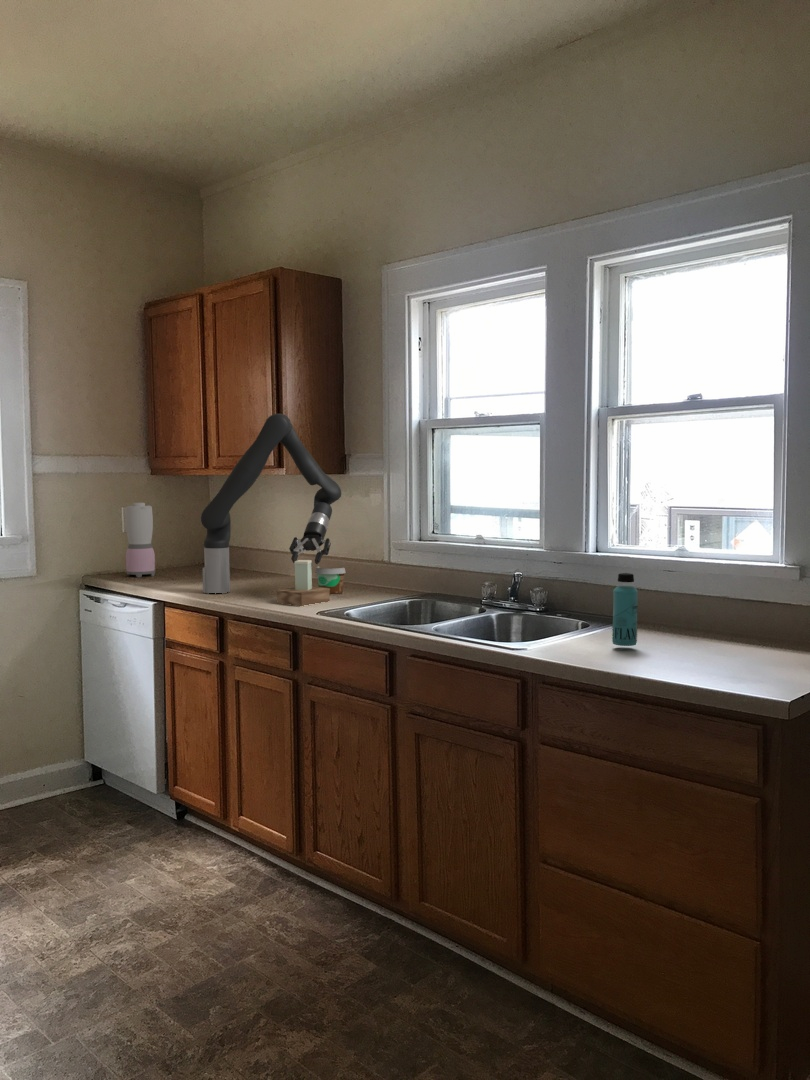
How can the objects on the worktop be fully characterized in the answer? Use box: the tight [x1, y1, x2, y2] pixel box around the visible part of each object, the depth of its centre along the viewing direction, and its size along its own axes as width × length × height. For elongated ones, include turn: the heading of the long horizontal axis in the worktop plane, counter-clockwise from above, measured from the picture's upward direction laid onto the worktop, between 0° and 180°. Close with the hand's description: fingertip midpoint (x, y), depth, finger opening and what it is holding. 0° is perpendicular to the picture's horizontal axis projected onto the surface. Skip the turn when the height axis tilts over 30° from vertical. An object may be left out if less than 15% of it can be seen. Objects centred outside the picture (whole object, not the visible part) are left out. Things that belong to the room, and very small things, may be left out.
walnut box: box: [276, 586, 331, 607], centre depth 312 cm, size 12×14×5 cm
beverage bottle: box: [611, 572, 639, 647], centre depth 231 cm, size 6×7×20 cm
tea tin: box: [294, 559, 313, 590], centre depth 311 cm, size 5×5×10 cm
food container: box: [315, 566, 347, 595], centre depth 331 cm, size 12×6×10 cm, turn 62°
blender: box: [125, 502, 156, 578], centre depth 389 cm, size 16×12×32 cm
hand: (304, 562), depth 313 cm, fingers open, 8 cm apart
